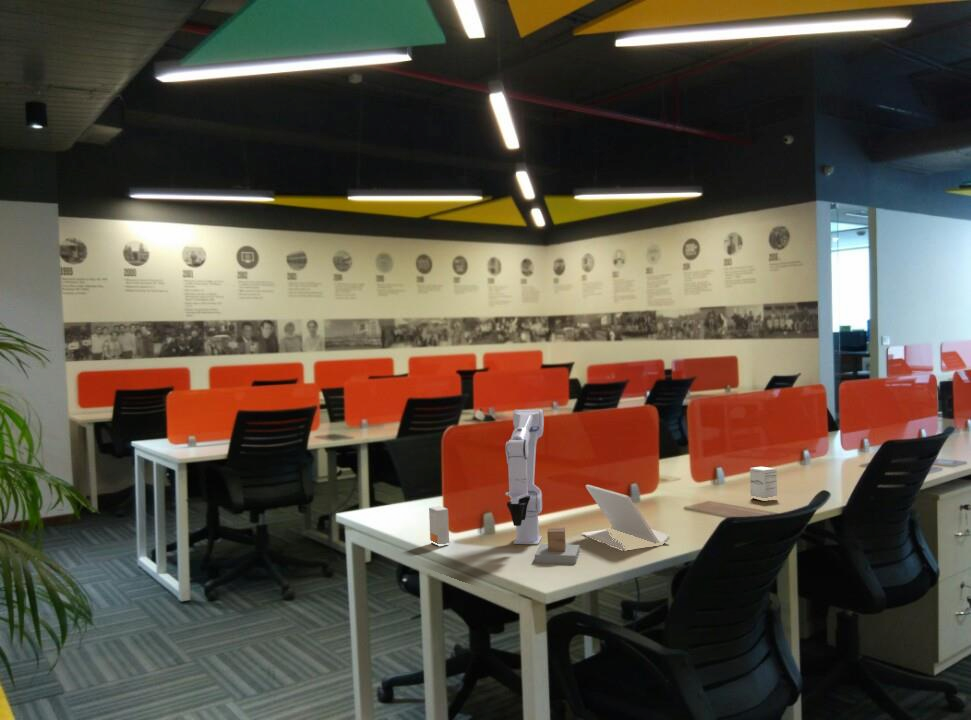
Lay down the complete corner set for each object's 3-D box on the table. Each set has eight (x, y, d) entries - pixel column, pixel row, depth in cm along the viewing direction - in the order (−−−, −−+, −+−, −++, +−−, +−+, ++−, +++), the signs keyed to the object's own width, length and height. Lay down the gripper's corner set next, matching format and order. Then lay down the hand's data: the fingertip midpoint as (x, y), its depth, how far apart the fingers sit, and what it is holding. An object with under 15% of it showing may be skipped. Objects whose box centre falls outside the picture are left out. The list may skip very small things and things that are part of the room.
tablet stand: (623, 552, 233) (621, 496, 233) (580, 535, 256) (579, 484, 255) (671, 544, 240) (670, 490, 240) (626, 528, 263) (624, 479, 263)
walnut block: (549, 547, 232) (548, 527, 232) (565, 547, 231) (564, 527, 231) (548, 551, 227) (547, 531, 227) (565, 551, 226) (564, 531, 226)
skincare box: (429, 543, 250) (428, 507, 250) (441, 541, 252) (440, 505, 252) (438, 547, 245) (436, 510, 245) (449, 545, 247) (448, 508, 247)
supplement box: (749, 499, 303) (748, 467, 303) (763, 497, 307) (762, 465, 306) (764, 502, 297) (763, 470, 296) (778, 500, 300) (777, 468, 300)
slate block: (540, 553, 236) (540, 544, 236) (579, 554, 233) (579, 544, 233) (535, 564, 224) (534, 554, 224) (575, 565, 221) (575, 555, 221)
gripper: (509, 474, 243) (510, 517, 243) (500, 482, 228) (502, 528, 229) (531, 474, 241) (532, 517, 241) (524, 482, 227) (525, 528, 227)
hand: (519, 522), depth 235 cm, fingers open, 7 cm apart
